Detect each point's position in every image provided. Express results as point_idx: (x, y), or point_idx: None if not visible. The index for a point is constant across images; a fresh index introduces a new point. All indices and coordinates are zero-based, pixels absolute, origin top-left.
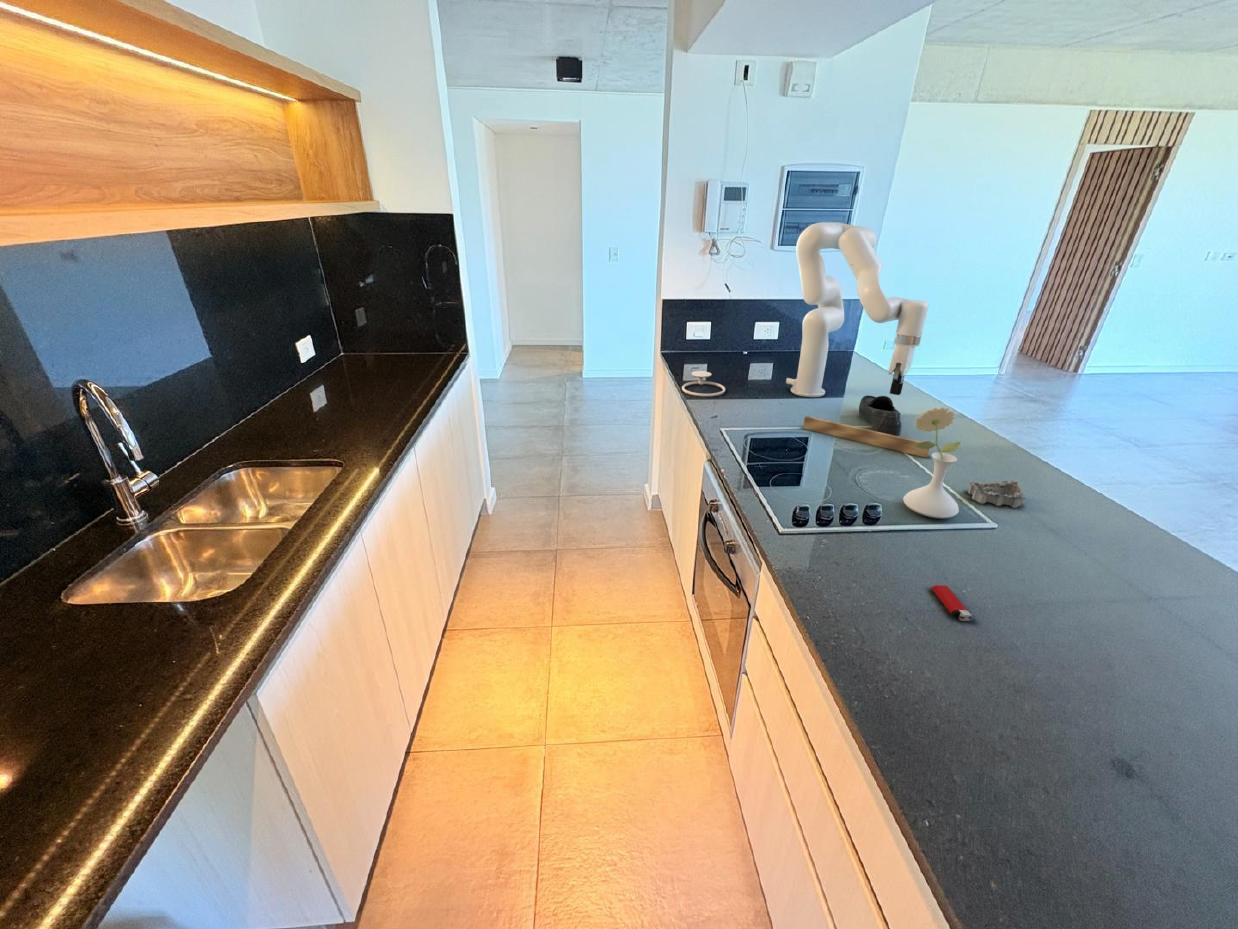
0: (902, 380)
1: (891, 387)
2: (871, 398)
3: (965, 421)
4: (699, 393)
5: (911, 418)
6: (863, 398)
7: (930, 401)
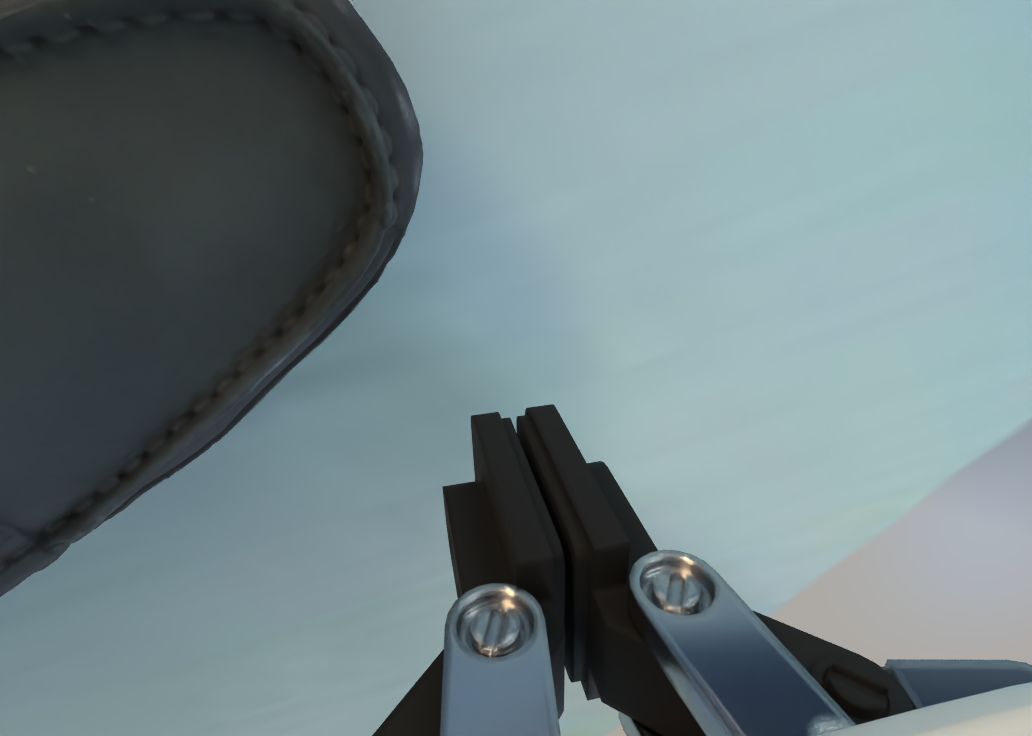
0: (628, 727)
1: (492, 488)
2: (244, 149)
3: None
4: None
5: None
6: (26, 13)
7: (993, 436)
